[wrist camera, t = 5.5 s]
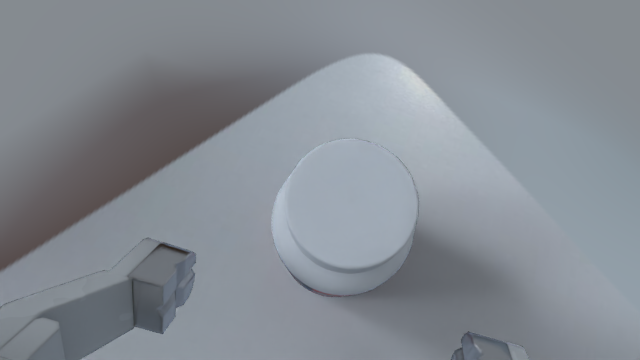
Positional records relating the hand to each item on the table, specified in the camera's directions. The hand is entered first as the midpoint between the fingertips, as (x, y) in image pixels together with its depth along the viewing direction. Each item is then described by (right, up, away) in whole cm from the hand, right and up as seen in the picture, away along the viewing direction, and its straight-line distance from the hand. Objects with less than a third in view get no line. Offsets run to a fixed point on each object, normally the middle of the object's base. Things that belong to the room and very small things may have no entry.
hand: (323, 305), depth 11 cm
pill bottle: (+1, 0, +9) cm, 9 cm away
